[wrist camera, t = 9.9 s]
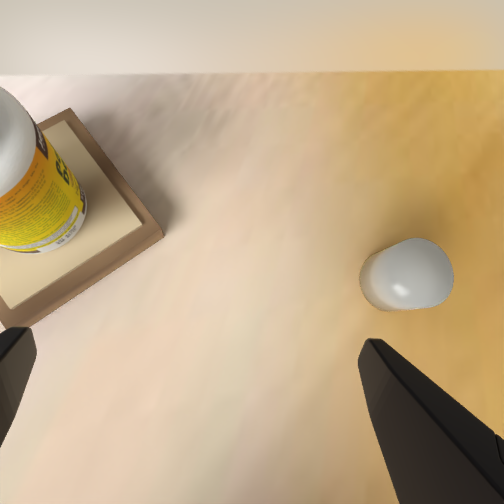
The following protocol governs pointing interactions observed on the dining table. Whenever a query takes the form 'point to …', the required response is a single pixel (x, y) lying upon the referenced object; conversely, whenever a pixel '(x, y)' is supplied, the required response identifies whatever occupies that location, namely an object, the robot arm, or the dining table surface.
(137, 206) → the tan flat square block
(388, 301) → the white rounded knob
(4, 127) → the supplement bottle
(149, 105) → the dining table surface
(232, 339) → the dining table surface
